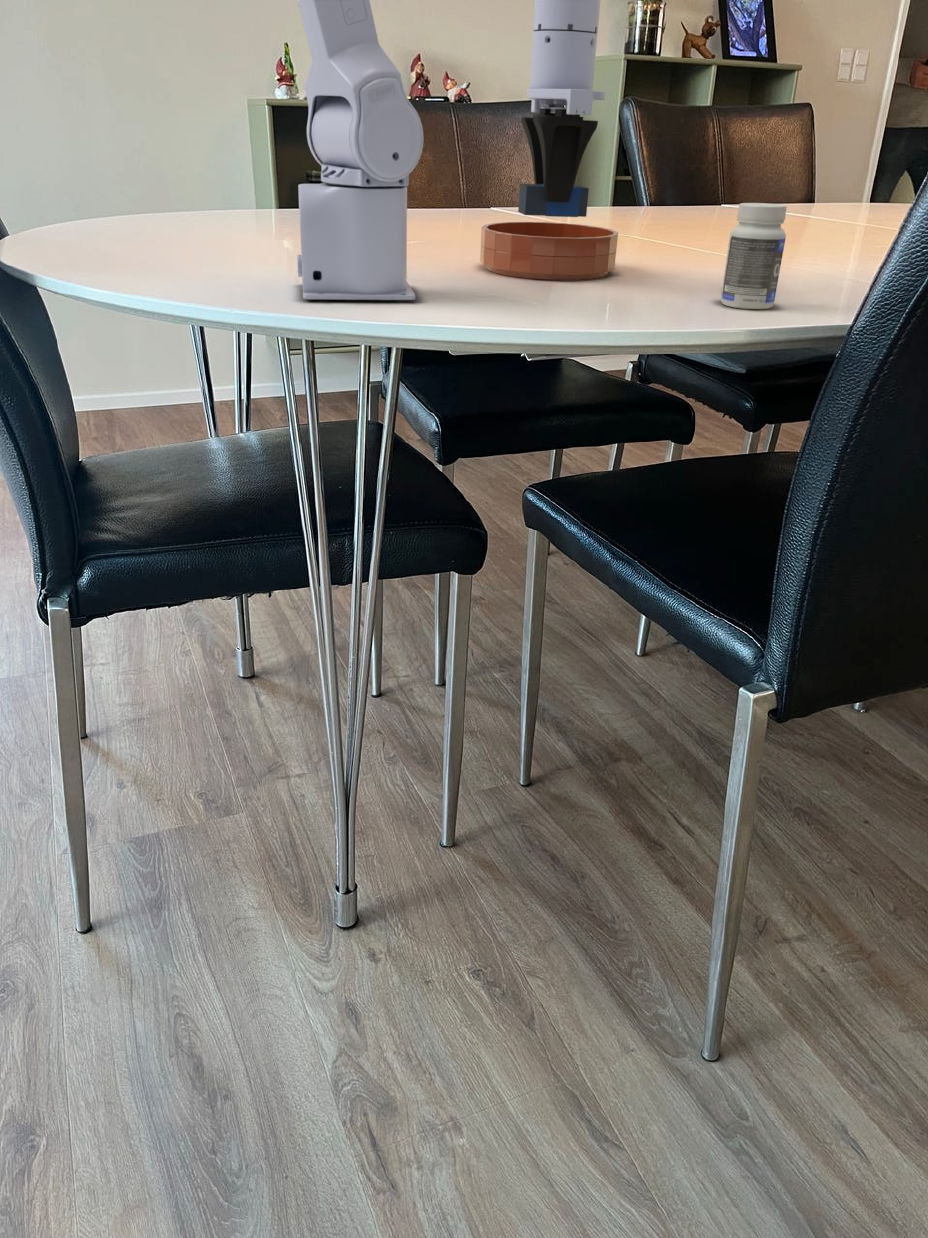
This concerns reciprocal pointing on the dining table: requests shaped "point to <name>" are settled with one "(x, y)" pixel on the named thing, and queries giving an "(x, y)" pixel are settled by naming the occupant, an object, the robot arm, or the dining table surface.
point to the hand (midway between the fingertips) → (552, 200)
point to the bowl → (548, 250)
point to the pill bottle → (754, 256)
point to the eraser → (536, 203)
